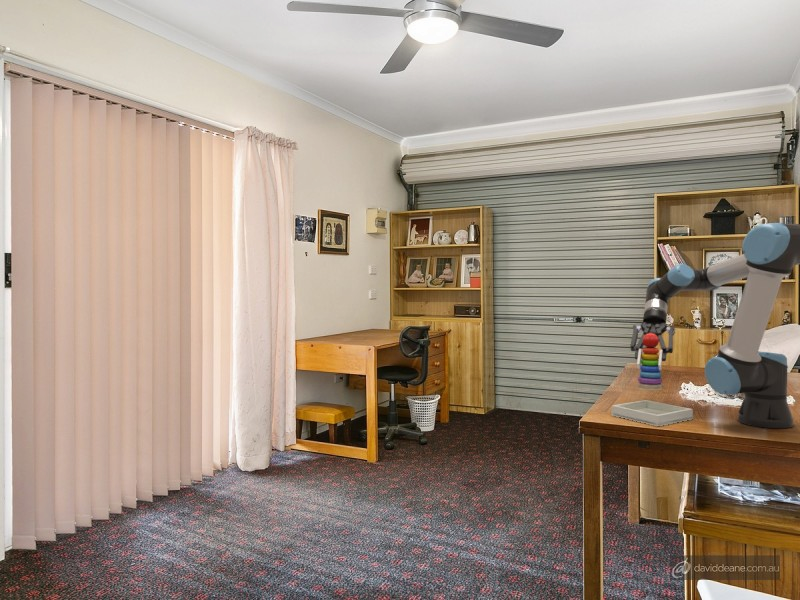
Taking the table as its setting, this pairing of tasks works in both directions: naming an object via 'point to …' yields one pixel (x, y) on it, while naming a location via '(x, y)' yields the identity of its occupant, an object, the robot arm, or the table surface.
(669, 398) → the table surface
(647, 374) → the stacking toy
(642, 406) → the tray
